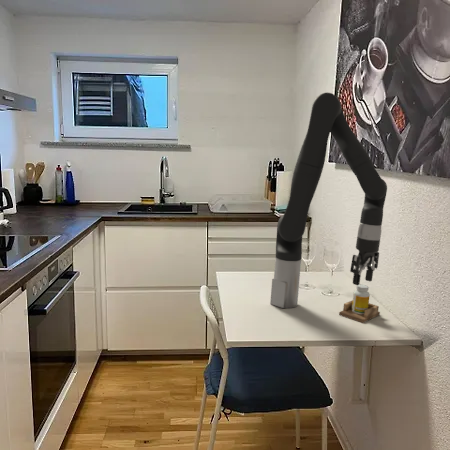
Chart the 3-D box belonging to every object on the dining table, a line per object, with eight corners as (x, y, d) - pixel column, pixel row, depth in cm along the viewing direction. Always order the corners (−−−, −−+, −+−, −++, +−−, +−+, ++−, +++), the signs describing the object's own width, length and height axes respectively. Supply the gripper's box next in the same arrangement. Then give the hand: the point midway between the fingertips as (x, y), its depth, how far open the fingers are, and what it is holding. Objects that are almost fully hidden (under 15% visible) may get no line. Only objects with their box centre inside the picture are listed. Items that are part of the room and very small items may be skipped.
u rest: (362, 322, 158) (363, 312, 157) (339, 314, 164) (340, 305, 163) (379, 314, 166) (380, 305, 166) (356, 307, 172) (357, 298, 172)
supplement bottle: (348, 309, 166) (351, 283, 165) (361, 308, 168) (364, 283, 166) (357, 315, 161) (360, 288, 160) (370, 314, 163) (373, 287, 161)
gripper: (368, 241, 152) (361, 289, 155) (389, 237, 162) (382, 282, 165) (348, 236, 157) (341, 282, 160) (369, 232, 167) (362, 276, 170)
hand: (362, 282), depth 163 cm, fingers open, 8 cm apart
